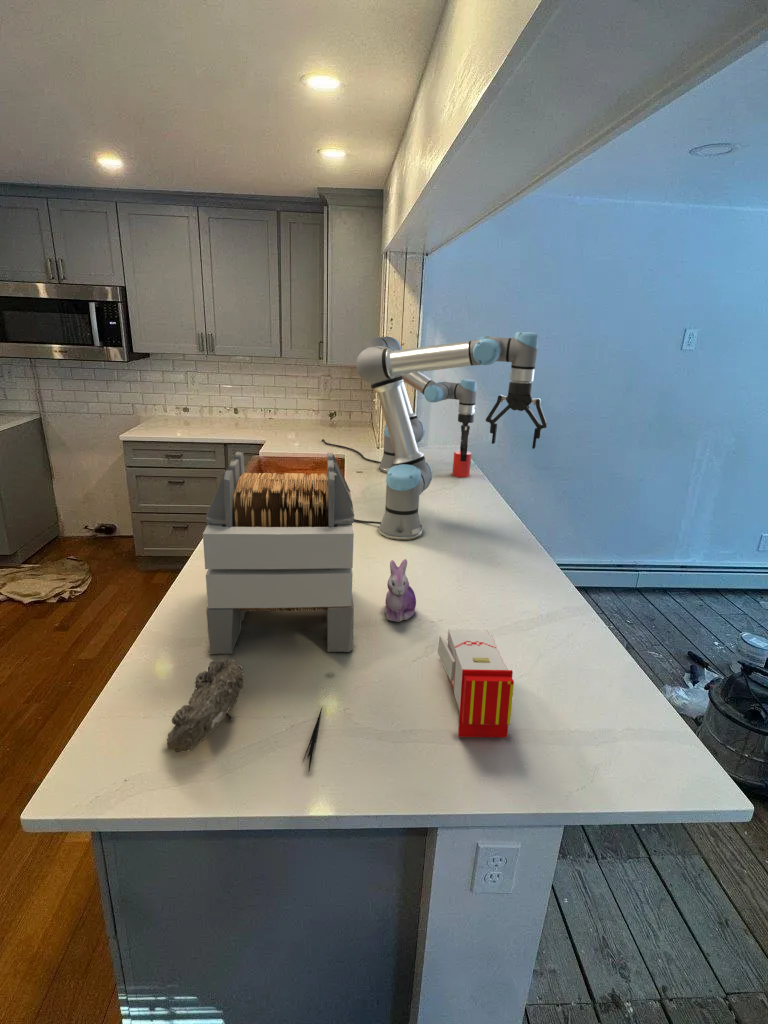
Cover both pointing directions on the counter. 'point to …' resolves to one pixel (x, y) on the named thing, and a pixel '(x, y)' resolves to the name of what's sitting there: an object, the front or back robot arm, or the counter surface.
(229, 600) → the record storage crate
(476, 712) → the toy
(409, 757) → the counter surface
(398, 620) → the figurine
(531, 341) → the front robot arm
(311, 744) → the feather
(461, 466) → the tin
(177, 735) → the fossil
